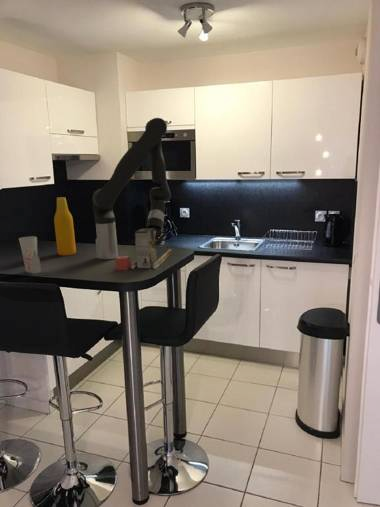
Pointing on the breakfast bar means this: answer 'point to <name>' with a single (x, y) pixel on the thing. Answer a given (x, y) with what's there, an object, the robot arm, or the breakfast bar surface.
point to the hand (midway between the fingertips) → (150, 252)
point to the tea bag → (32, 262)
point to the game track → (156, 261)
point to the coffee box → (145, 247)
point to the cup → (28, 244)
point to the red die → (122, 262)
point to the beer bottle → (64, 229)
